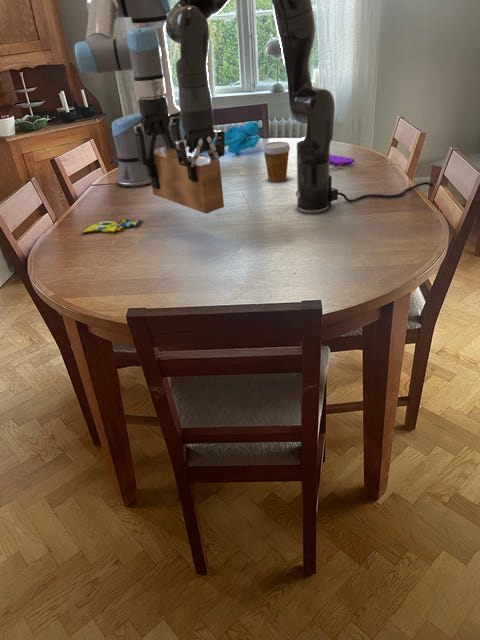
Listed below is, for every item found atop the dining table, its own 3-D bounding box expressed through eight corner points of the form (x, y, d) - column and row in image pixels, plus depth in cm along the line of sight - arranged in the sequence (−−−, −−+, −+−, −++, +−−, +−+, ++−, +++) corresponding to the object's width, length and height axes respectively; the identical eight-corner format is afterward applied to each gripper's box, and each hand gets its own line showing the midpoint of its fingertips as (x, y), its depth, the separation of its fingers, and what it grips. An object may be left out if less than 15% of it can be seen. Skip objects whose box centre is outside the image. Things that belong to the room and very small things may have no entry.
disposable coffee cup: (260, 182, 170) (258, 147, 164) (269, 174, 177) (267, 141, 171) (286, 183, 167) (285, 148, 160) (294, 175, 174) (293, 141, 168)
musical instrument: (342, 175, 173) (362, 153, 185) (341, 169, 172) (361, 148, 184) (283, 174, 186) (305, 153, 198) (282, 169, 184) (305, 148, 196)
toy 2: (197, 135, 216) (259, 115, 206) (205, 158, 221) (266, 140, 211) (186, 144, 203) (252, 124, 192) (195, 169, 208) (260, 150, 198)
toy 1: (130, 230, 139) (81, 231, 142) (130, 232, 140) (82, 234, 142) (140, 217, 148) (94, 218, 150) (141, 219, 148) (95, 221, 151)
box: (153, 194, 139) (145, 151, 132) (170, 188, 142) (163, 146, 136) (205, 213, 122) (200, 166, 116) (224, 207, 126) (219, 160, 119)
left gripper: (127, 104, 117) (144, 196, 130) (189, 92, 127) (200, 178, 140) (112, 102, 122) (130, 191, 135) (174, 90, 132) (185, 174, 145)
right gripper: (180, 114, 106) (190, 188, 115) (229, 103, 114) (235, 173, 123) (161, 111, 111) (173, 183, 120) (210, 100, 119) (217, 169, 128)
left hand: (166, 184), depth 137 cm, fingers closed on box, 6 cm apart
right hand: (204, 178), depth 122 cm, fingers closed on box, 6 cm apart
